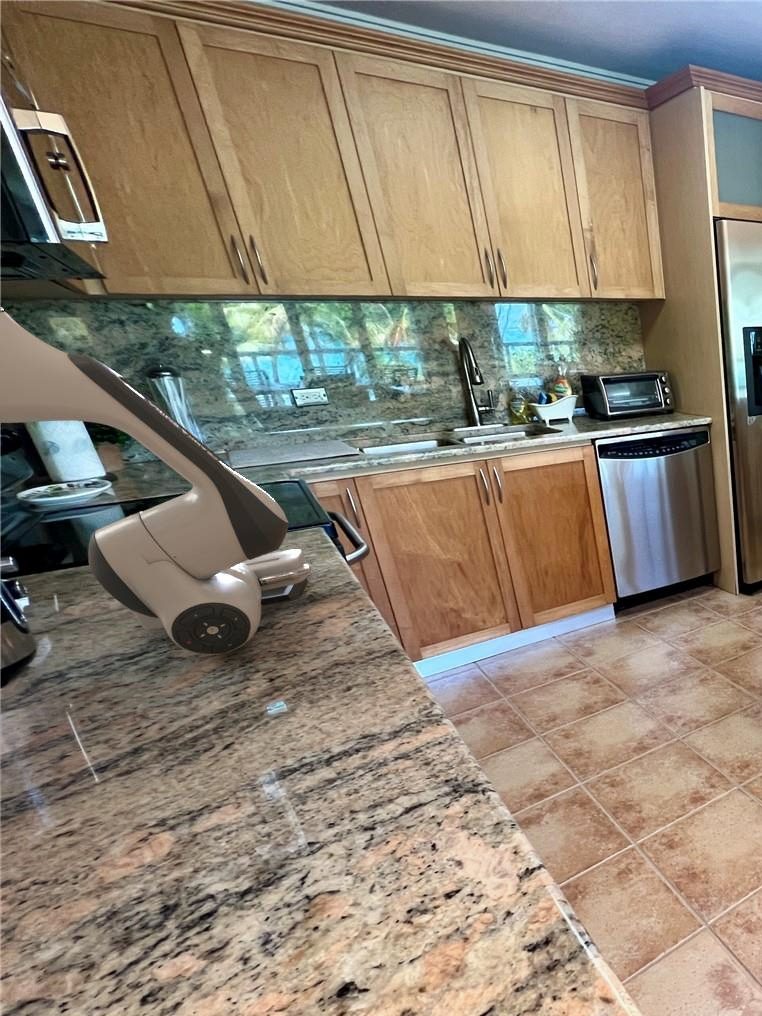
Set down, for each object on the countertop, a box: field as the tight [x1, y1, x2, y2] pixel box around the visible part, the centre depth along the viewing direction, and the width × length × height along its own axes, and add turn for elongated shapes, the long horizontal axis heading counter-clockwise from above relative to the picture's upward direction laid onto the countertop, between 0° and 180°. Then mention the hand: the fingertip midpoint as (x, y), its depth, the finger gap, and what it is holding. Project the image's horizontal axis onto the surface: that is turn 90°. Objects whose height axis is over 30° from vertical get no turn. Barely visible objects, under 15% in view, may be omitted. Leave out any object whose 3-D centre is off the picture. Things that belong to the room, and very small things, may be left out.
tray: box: [261, 577, 308, 605], centre depth 100 cm, size 16×14×2 cm
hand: (223, 565), depth 97 cm, fingers open, 8 cm apart
